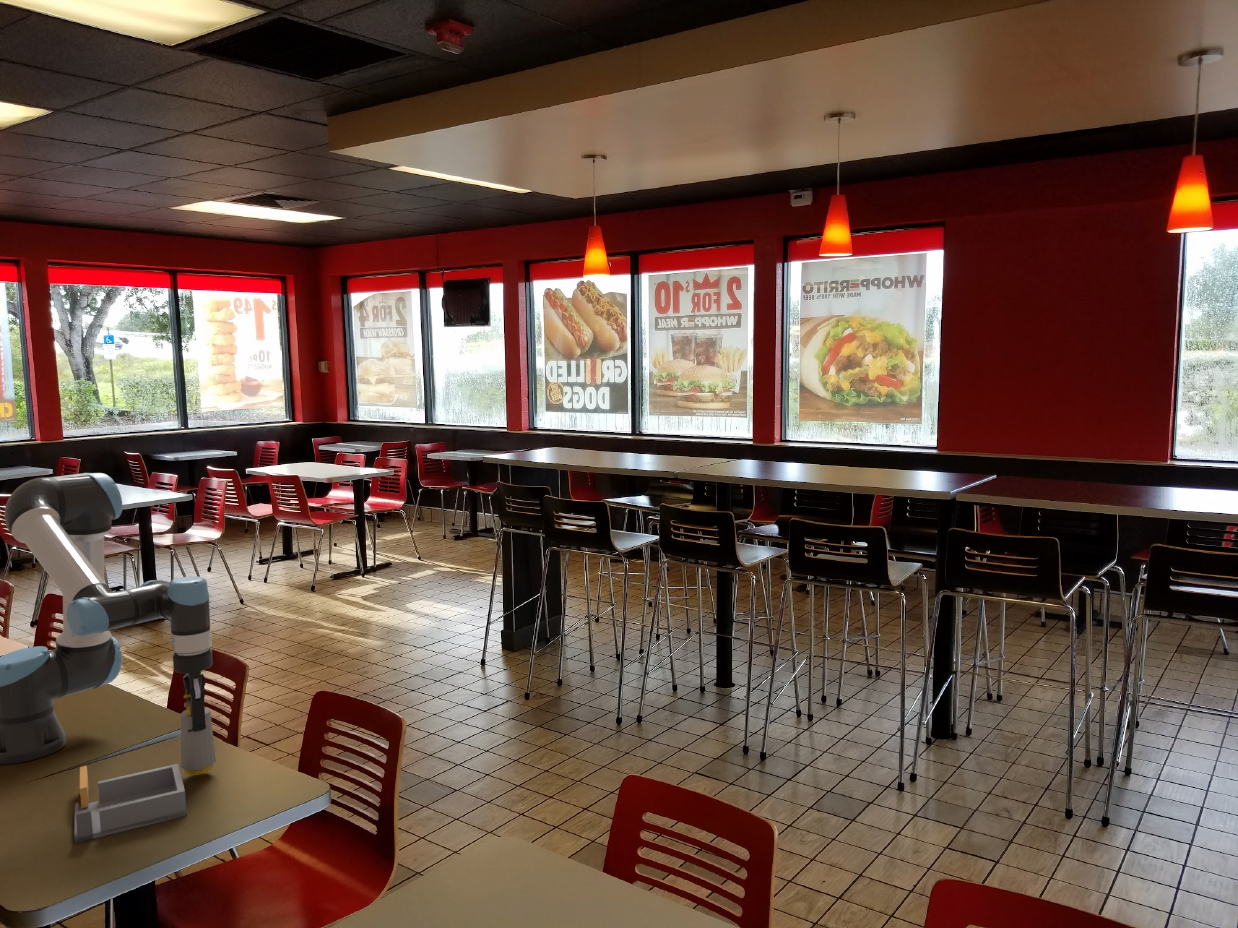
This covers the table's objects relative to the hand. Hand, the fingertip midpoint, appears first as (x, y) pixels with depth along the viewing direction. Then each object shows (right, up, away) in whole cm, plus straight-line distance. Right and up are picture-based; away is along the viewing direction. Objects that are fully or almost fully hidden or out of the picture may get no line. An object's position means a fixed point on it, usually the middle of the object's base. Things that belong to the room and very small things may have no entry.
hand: (199, 756), depth 189 cm
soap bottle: (-1, -3, +1) cm, 3 cm away
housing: (-6, -6, -15) cm, 17 cm away
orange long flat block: (-19, -5, -10) cm, 21 cm away
